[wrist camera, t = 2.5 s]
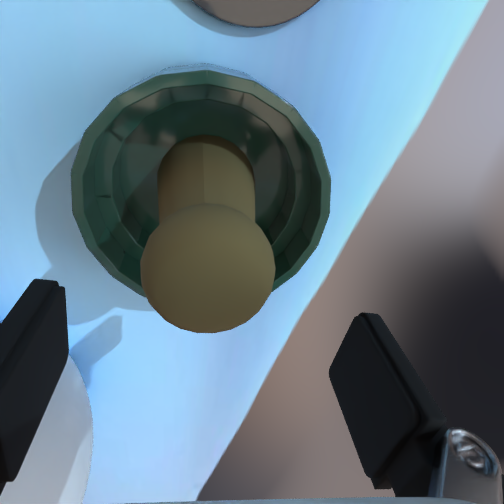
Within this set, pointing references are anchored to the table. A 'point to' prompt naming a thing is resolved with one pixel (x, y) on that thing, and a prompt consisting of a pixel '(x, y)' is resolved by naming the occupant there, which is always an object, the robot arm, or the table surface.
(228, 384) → the table surface
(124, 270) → the bowl
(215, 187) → the cork
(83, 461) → the pitcher
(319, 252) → the table surface
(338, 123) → the table surface
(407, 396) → the robot arm
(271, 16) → the coaster
